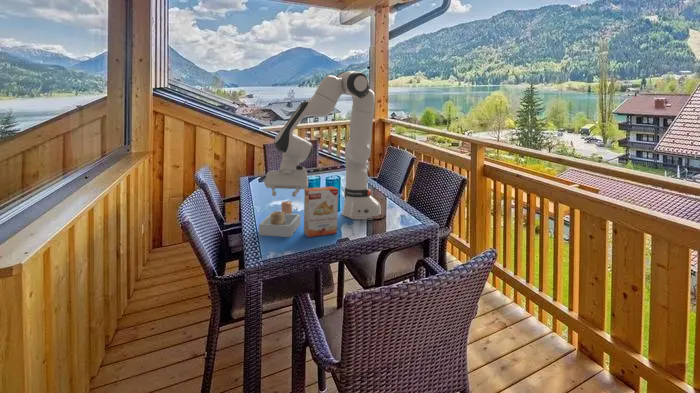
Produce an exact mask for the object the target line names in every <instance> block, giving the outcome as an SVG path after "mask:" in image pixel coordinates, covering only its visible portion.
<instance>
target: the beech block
mask: <svg viewBox="0 0 700 393" xmlns="http://www.w3.org/2000/svg"><path fill="white" fill-rule="evenodd" d="M271 213H272V214H271ZM271 213H270V214H271V224H275V225H285V212H282V211H277V210H274V211H273V212H271Z"/></svg>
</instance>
